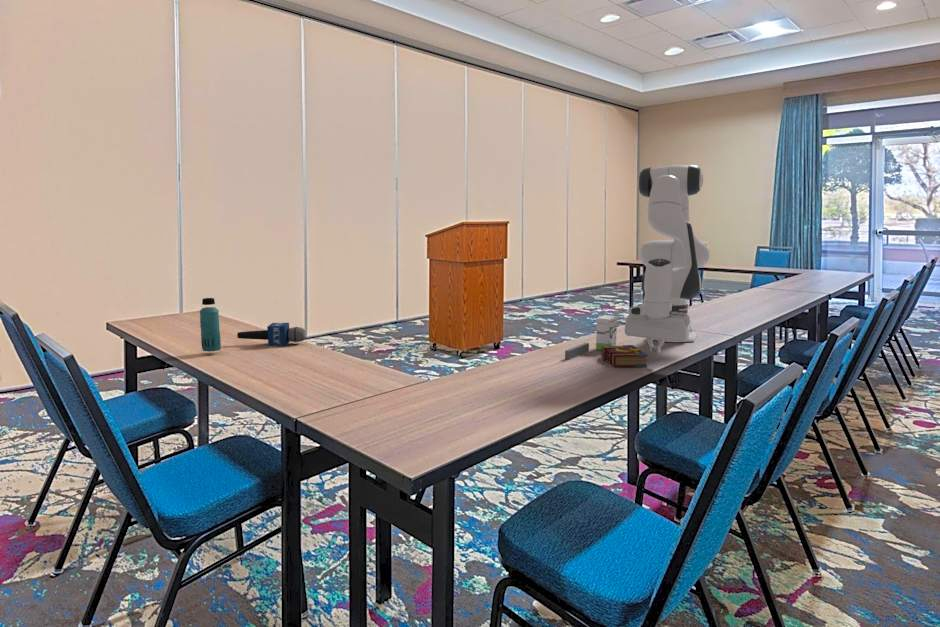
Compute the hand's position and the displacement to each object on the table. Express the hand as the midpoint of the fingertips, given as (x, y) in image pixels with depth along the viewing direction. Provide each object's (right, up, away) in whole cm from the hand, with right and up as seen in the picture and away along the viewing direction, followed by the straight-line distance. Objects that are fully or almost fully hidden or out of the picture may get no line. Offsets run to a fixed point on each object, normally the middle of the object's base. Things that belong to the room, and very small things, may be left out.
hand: (655, 352), depth 204 cm
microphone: (-136, 0, +35) cm, 140 cm away
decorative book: (-9, -4, +7) cm, 12 cm away
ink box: (-10, -1, +28) cm, 29 cm away
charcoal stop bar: (-23, -2, +16) cm, 28 cm away
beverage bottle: (-152, -2, +19) cm, 153 cm away
